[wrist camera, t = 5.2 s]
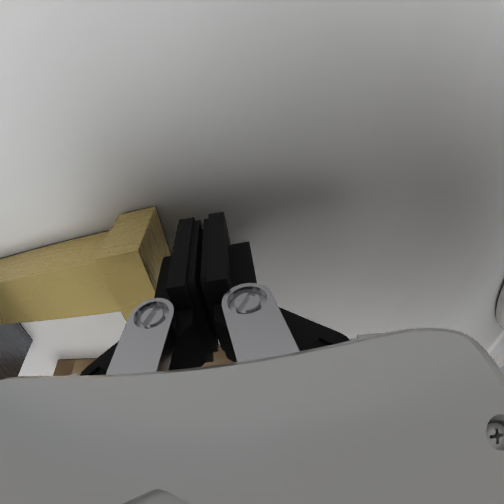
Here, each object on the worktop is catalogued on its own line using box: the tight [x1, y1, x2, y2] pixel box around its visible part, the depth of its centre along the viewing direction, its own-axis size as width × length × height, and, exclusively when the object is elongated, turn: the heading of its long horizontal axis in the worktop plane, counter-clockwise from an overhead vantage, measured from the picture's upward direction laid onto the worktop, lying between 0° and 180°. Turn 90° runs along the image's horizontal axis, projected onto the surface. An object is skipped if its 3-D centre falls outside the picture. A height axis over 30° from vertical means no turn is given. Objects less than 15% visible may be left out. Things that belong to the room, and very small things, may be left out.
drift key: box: [0, 207, 171, 325], centre depth 11 cm, size 12×4×3 cm, turn 98°
